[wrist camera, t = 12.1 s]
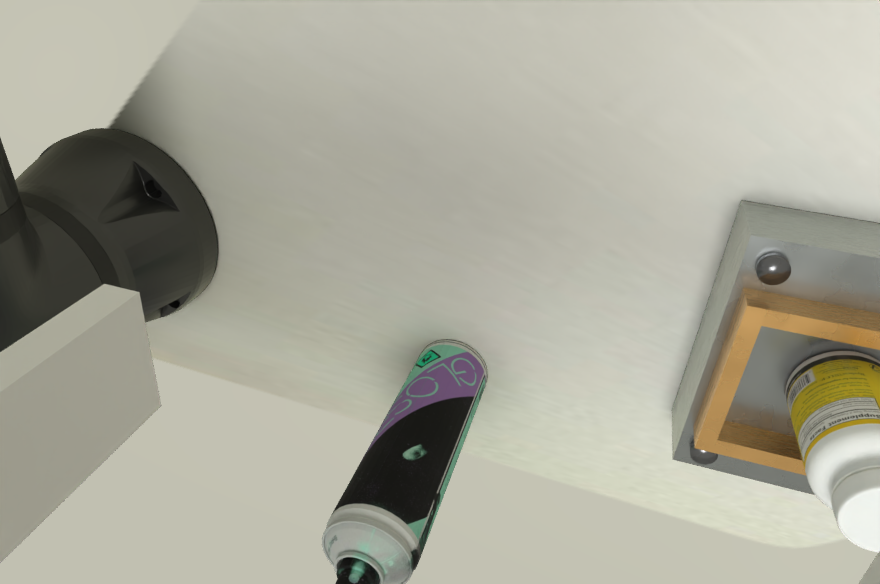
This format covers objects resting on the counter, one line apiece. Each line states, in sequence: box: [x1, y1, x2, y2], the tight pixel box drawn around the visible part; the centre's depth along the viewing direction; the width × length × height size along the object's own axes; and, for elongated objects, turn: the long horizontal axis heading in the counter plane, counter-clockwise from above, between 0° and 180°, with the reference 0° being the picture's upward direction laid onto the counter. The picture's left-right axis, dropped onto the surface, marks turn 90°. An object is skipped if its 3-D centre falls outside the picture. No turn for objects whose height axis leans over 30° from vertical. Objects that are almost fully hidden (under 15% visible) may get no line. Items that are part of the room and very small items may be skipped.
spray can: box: [322, 340, 488, 584], centre depth 42 cm, size 6×6×20 cm
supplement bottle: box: [785, 351, 880, 553], centre depth 32 cm, size 5×5×10 cm
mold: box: [672, 200, 880, 495], centre depth 38 cm, size 14×16×7 cm
